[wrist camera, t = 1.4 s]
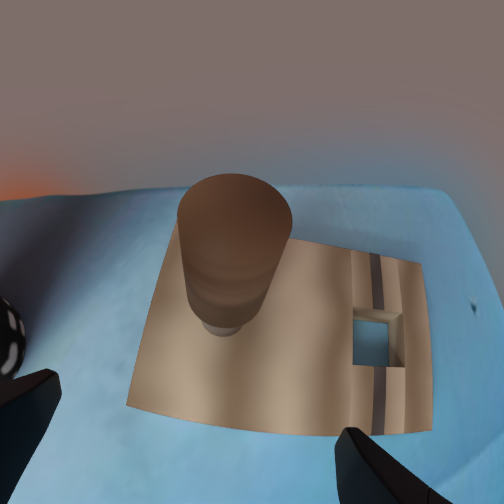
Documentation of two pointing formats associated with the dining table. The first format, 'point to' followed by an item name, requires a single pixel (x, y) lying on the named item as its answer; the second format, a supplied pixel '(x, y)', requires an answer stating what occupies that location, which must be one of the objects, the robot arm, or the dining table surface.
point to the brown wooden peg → (231, 247)
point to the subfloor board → (293, 349)
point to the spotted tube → (10, 341)
